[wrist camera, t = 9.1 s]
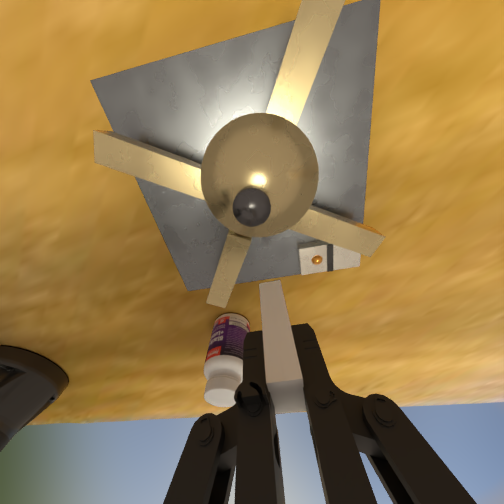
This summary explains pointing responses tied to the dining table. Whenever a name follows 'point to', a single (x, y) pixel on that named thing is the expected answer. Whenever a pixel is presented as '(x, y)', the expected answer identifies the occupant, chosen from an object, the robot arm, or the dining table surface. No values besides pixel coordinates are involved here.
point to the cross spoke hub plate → (247, 102)
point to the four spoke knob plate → (255, 162)
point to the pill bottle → (225, 359)
